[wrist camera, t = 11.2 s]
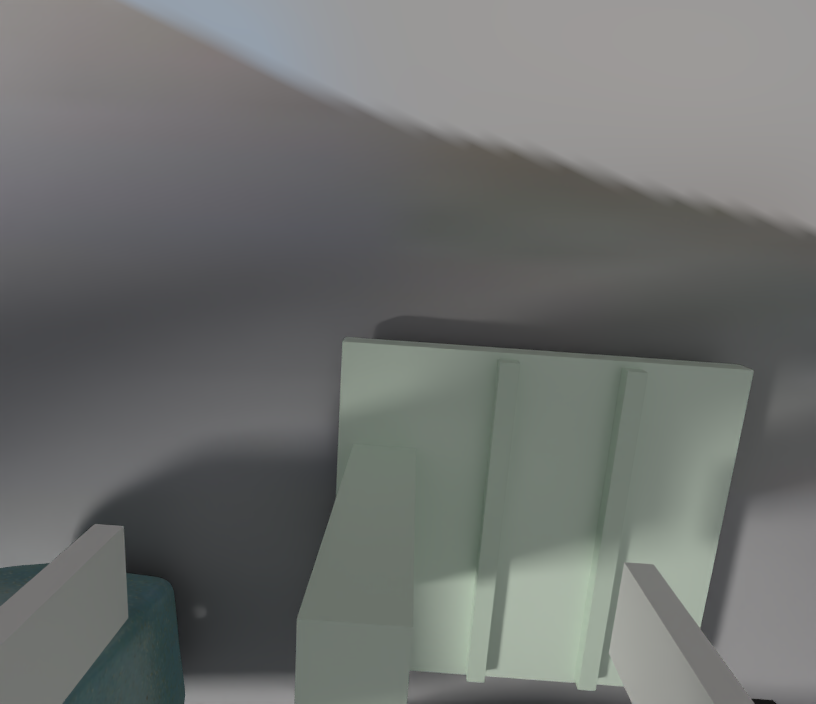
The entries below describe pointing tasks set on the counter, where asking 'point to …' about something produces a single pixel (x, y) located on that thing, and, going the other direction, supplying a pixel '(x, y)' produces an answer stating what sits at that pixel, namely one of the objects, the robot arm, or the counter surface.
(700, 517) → the lid
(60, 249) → the counter surface
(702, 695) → the robot arm
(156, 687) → the flower pot
